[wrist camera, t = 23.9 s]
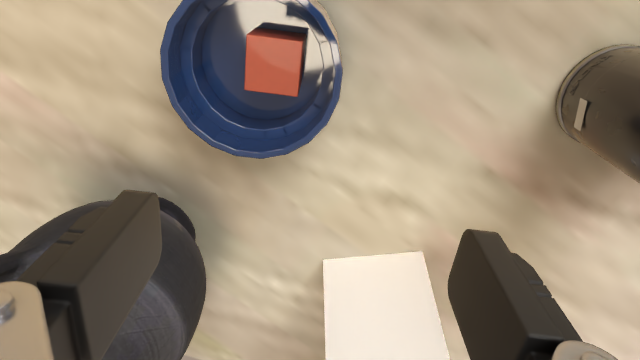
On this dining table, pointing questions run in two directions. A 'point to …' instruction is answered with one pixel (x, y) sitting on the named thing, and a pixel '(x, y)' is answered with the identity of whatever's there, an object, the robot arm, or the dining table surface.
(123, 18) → the dining table surface
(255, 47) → the block
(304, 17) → the bowl
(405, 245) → the dining table surface
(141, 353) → the pitcher
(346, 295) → the milk
